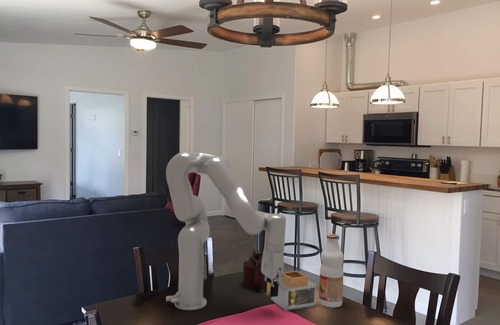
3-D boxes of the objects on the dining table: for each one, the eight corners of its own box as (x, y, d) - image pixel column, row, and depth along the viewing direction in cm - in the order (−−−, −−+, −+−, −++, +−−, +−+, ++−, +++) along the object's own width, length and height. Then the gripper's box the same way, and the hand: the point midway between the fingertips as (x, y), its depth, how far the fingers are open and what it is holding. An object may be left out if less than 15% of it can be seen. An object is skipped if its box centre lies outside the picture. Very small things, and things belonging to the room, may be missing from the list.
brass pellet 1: (269, 297, 149) (270, 284, 149) (264, 293, 153) (265, 281, 153) (277, 296, 151) (278, 283, 151) (273, 293, 154) (273, 280, 154)
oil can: (271, 292, 172) (273, 235, 171) (246, 293, 170) (248, 235, 169) (257, 272, 200) (259, 222, 199) (236, 273, 198) (237, 223, 197)
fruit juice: (337, 310, 156) (340, 238, 154) (315, 304, 161) (317, 235, 160) (345, 302, 163) (348, 234, 162) (324, 297, 169) (326, 231, 167)
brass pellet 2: (289, 303, 160) (289, 290, 160) (287, 299, 163) (287, 287, 163) (298, 302, 160) (297, 290, 160) (295, 299, 164) (295, 287, 164)
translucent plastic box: (285, 310, 153) (286, 281, 153) (270, 299, 164) (271, 272, 164) (316, 305, 159) (317, 277, 159) (299, 295, 170) (300, 268, 170)
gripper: (255, 241, 157) (252, 287, 158) (276, 253, 142) (272, 303, 143) (272, 240, 160) (269, 286, 161) (294, 252, 145) (290, 301, 146)
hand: (271, 293), depth 152 cm, fingers closed on brass pellet 1, 3 cm apart
